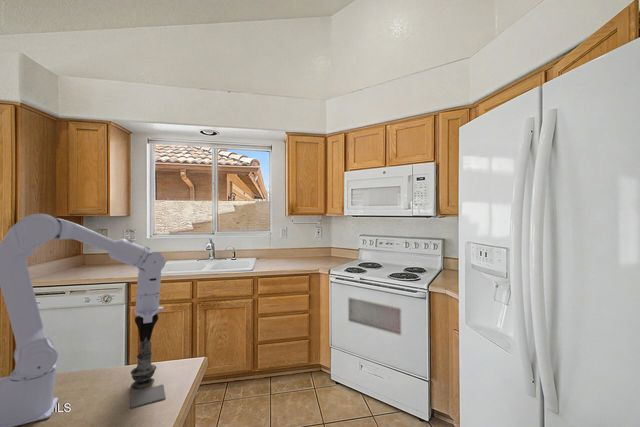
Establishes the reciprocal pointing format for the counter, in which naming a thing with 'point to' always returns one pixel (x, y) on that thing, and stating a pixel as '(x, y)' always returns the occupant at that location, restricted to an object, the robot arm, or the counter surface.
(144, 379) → the dark grey chess piece
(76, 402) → the counter surface
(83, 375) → the counter surface
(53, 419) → the counter surface
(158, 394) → the charcoal mat
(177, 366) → the counter surface
